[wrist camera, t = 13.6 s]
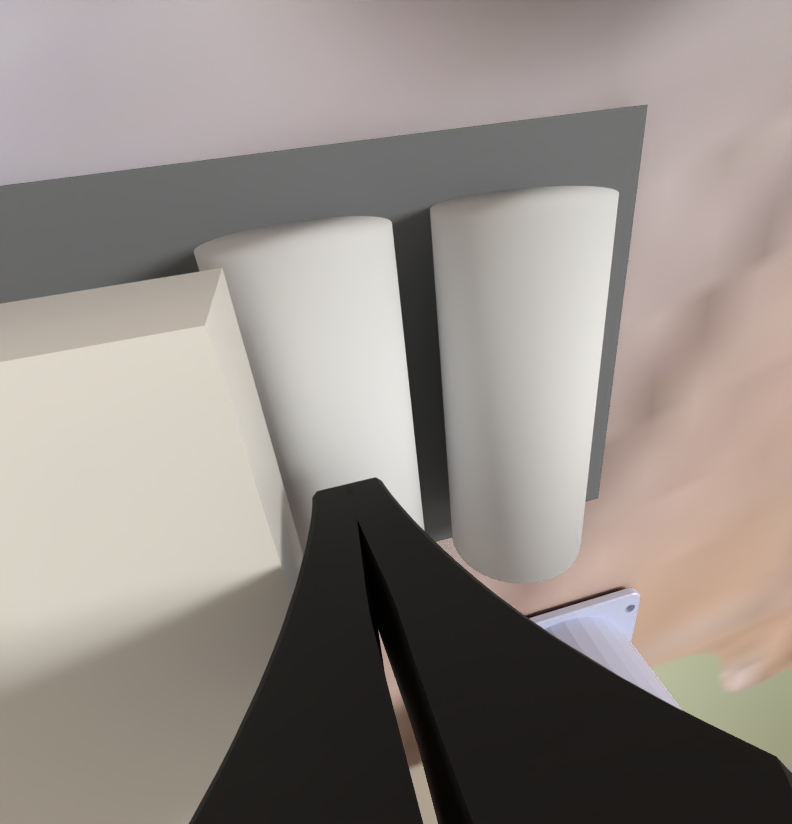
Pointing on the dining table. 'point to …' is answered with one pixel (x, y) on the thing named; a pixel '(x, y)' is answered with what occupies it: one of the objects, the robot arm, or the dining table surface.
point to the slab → (132, 549)
